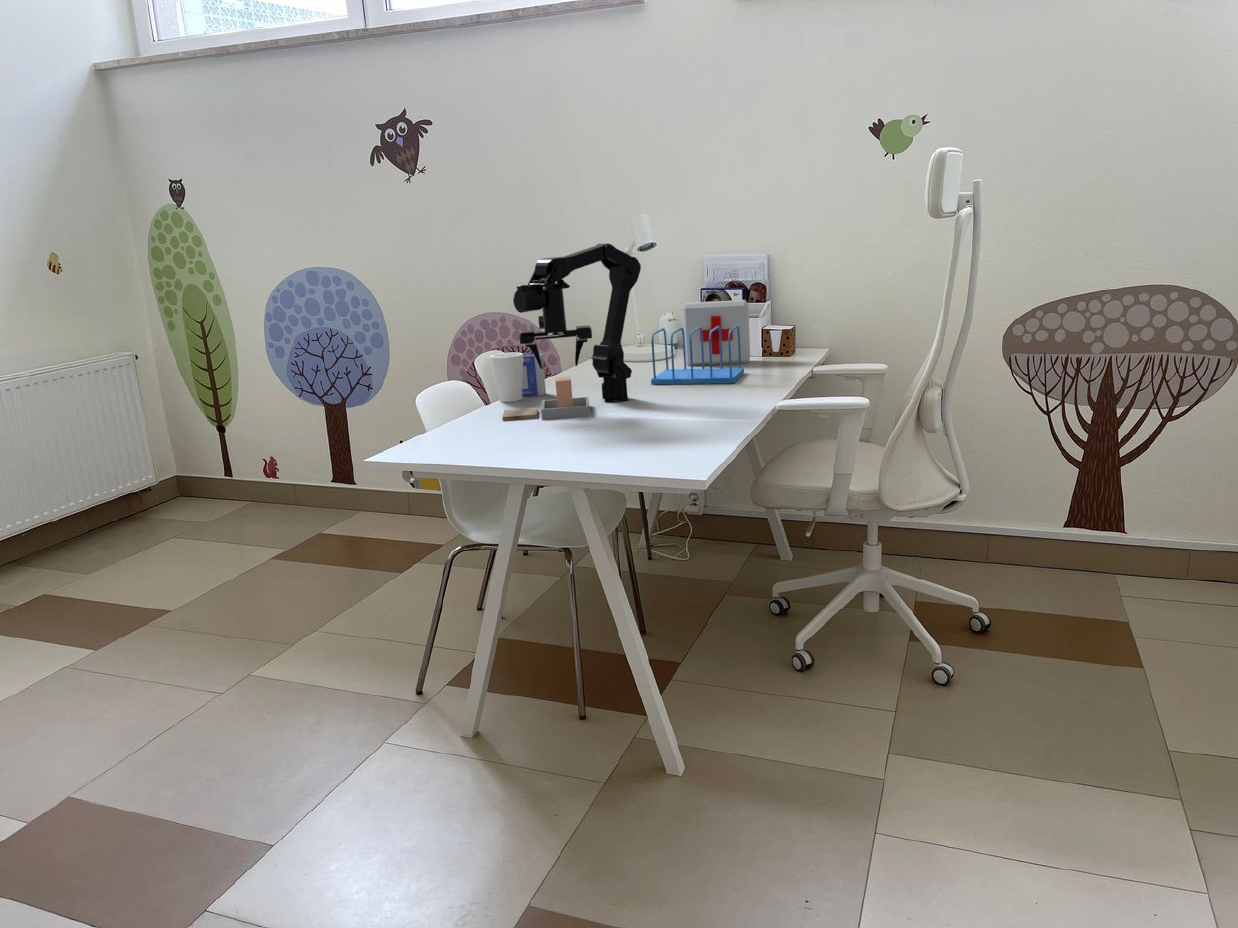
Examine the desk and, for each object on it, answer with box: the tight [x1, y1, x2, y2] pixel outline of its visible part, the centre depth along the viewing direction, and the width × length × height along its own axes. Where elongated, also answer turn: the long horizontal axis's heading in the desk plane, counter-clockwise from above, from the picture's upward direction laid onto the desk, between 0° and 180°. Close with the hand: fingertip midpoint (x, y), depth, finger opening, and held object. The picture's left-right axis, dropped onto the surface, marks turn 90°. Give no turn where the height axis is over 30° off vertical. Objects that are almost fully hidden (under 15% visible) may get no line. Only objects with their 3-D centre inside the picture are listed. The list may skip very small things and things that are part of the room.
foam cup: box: [489, 351, 524, 403], centre depth 270 cm, size 10×9×13 cm
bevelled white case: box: [681, 299, 751, 367], centre depth 306 cm, size 21×8×20 cm, turn 80°
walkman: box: [522, 353, 547, 397], centre depth 276 cm, size 8×3×12 cm, turn 86°
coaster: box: [502, 407, 539, 422], centre depth 249 cm, size 9×9×1 cm
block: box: [554, 376, 573, 408], centre depth 248 cm, size 4×5×9 cm
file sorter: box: [650, 325, 745, 386], centre depth 282 cm, size 25×17×15 cm
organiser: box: [540, 396, 591, 420], centre depth 249 cm, size 13×13×2 cm
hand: (558, 367), depth 247 cm, fingers open, 9 cm apart
